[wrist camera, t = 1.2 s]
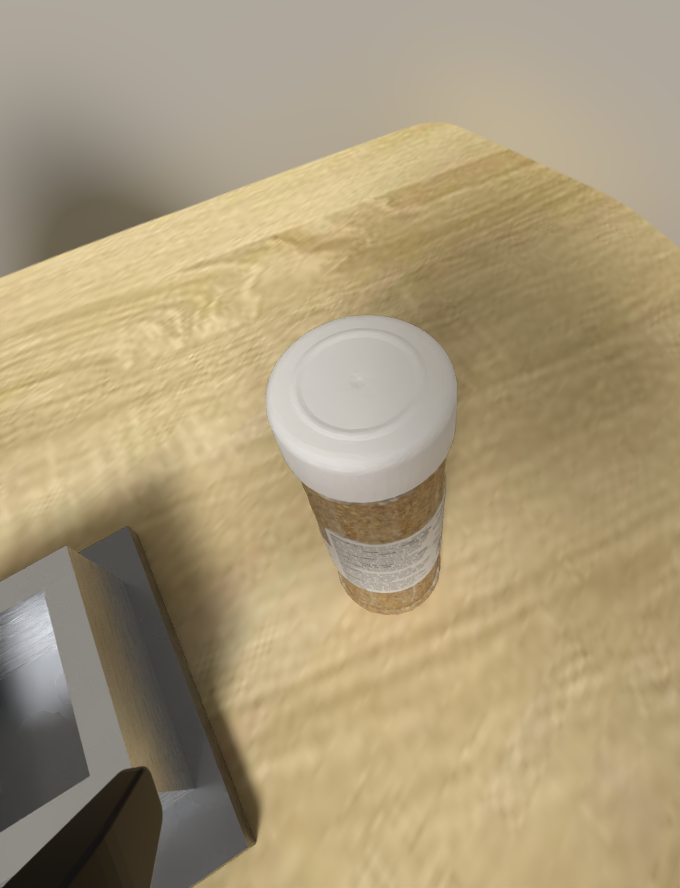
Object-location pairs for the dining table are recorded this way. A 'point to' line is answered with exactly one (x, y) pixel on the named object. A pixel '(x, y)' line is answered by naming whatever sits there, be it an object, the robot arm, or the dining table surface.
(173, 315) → the dining table surface
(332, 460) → the sprinkles bottle
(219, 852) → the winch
